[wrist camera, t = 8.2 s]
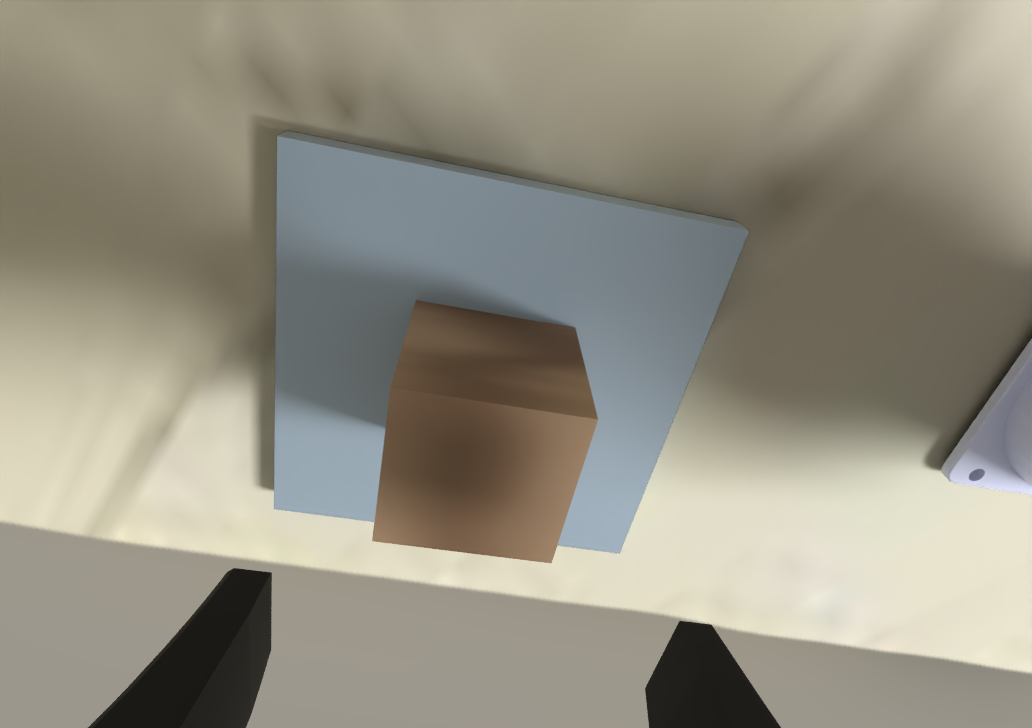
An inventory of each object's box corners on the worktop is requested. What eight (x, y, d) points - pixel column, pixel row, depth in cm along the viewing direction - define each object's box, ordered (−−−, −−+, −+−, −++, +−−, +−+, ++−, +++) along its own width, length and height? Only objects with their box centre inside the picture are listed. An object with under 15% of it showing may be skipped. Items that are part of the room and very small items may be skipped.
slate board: (738, 221, 16) (749, 231, 16) (615, 536, 22) (619, 553, 22) (287, 130, 15) (277, 135, 14) (281, 492, 21) (273, 509, 20)
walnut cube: (575, 327, 17) (598, 419, 13) (540, 452, 19) (551, 563, 15) (416, 300, 16) (389, 387, 13) (398, 431, 19) (371, 541, 15)
